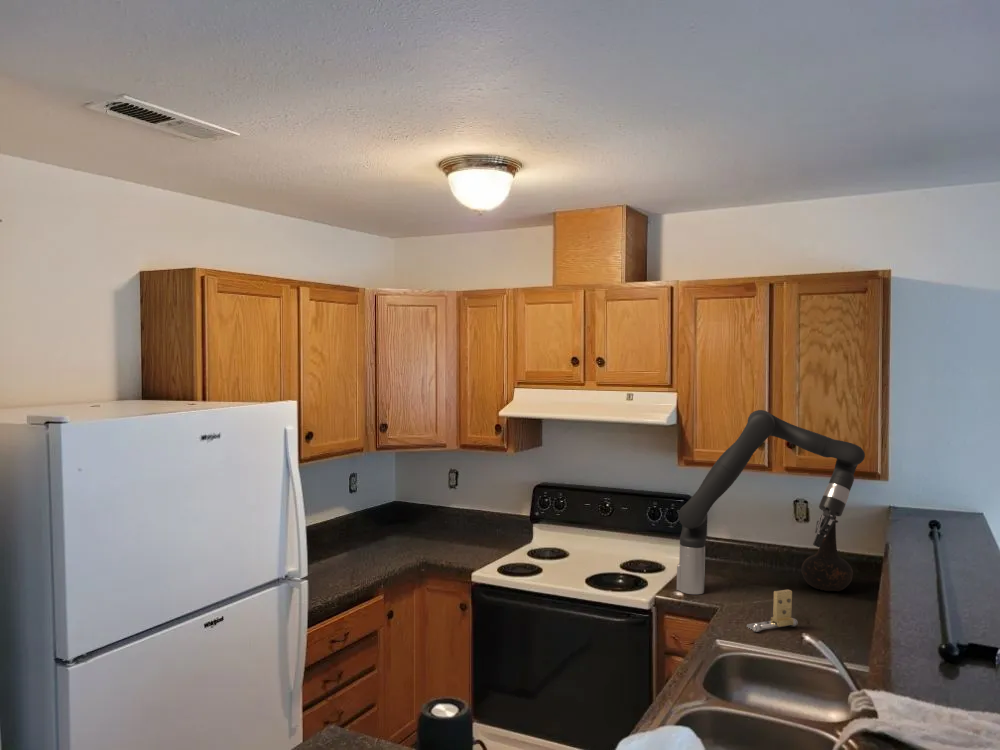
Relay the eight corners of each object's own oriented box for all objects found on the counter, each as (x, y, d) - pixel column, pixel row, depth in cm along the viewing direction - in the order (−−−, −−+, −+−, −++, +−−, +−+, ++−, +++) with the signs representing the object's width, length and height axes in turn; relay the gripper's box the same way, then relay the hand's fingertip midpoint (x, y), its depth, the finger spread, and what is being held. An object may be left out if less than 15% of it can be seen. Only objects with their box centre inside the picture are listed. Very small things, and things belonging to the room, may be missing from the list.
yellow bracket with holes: (778, 626, 238) (779, 593, 238) (770, 622, 242) (771, 590, 241) (793, 624, 240) (794, 591, 240) (785, 620, 244) (786, 588, 244)
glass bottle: (793, 587, 285) (795, 514, 285) (813, 578, 298) (814, 508, 297) (841, 599, 272) (843, 522, 272) (859, 589, 285) (861, 516, 284)
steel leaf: (756, 633, 235) (756, 625, 235) (744, 627, 241) (744, 619, 241) (798, 627, 242) (798, 619, 242) (785, 621, 247) (786, 613, 247)
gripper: (851, 502, 248) (833, 550, 245) (839, 506, 261) (821, 551, 258) (829, 492, 250) (810, 540, 247) (818, 496, 263) (800, 542, 259)
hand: (816, 546), depth 252 cm, fingers closed
